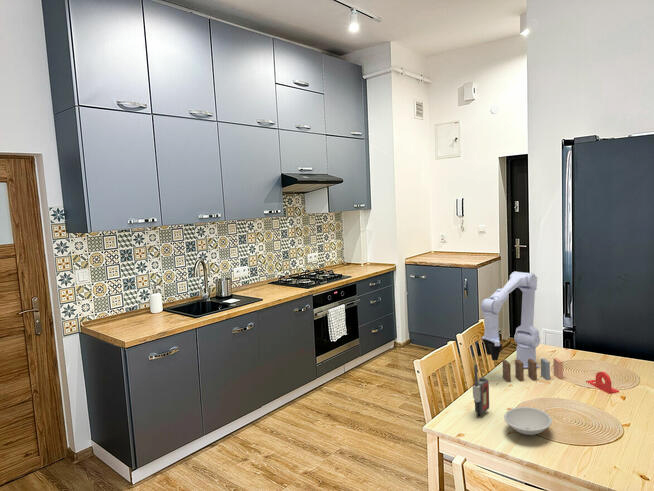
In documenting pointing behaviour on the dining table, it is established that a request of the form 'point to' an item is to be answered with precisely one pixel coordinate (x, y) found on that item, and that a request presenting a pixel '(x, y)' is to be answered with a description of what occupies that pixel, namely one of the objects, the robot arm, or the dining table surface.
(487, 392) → the walkie-talkie
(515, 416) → the dish
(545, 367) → the gap domino
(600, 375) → the bracket
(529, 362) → the domino
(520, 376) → the domino
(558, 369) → the domino
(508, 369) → the brown wooden block
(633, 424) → the dining table surface
